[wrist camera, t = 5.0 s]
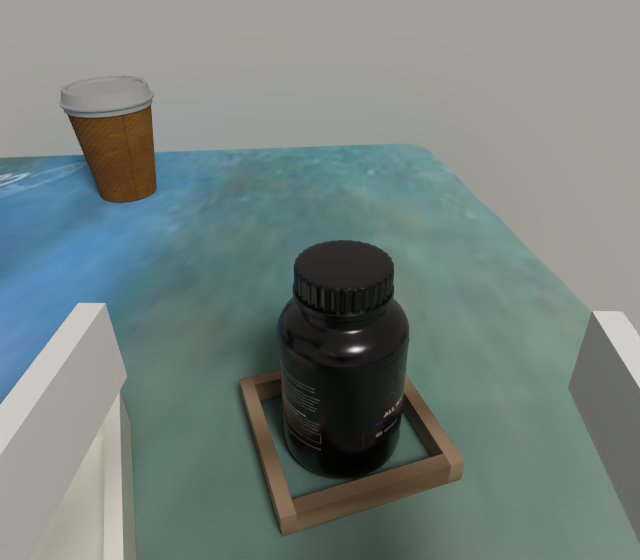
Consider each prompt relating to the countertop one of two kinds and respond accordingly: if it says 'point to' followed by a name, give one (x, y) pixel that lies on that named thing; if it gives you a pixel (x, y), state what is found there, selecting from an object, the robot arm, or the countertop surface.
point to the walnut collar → (359, 492)
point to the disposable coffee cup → (114, 133)
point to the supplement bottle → (342, 360)
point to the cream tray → (97, 500)
